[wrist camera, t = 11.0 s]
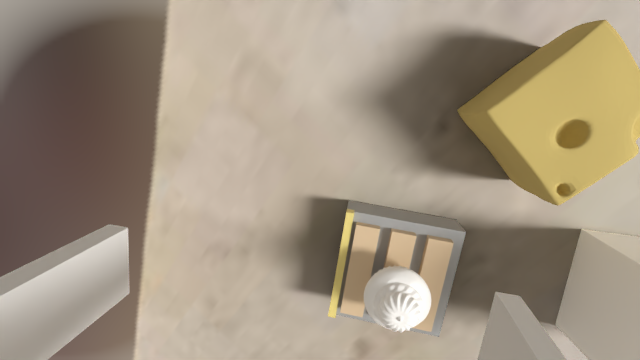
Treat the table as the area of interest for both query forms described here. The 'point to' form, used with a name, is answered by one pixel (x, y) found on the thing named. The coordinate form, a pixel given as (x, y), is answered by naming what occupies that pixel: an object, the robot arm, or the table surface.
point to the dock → (395, 257)
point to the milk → (603, 297)
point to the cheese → (562, 113)
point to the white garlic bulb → (397, 298)
